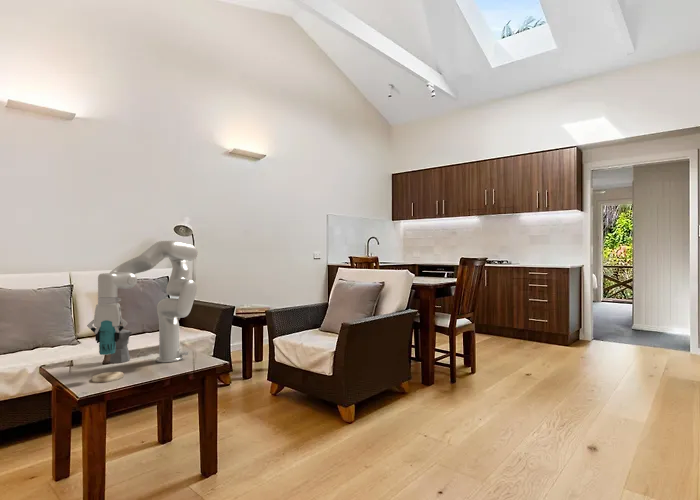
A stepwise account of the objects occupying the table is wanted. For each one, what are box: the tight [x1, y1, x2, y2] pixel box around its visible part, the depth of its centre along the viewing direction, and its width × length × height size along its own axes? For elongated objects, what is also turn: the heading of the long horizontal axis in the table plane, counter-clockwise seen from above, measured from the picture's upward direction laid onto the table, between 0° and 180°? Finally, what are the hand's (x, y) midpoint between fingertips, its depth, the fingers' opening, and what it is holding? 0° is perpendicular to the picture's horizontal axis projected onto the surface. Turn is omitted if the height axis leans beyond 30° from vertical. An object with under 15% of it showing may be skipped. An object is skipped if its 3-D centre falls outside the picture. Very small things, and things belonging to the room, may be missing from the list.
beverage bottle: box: [98, 320, 116, 356], centre depth 182 cm, size 6×7×20 cm
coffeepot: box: [109, 325, 133, 364], centre depth 212 cm, size 15×9×18 cm, turn 82°
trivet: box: [91, 371, 125, 384], centre depth 182 cm, size 12×12×1 cm
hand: (107, 341), depth 182 cm, fingers closed on beverage bottle, 6 cm apart
